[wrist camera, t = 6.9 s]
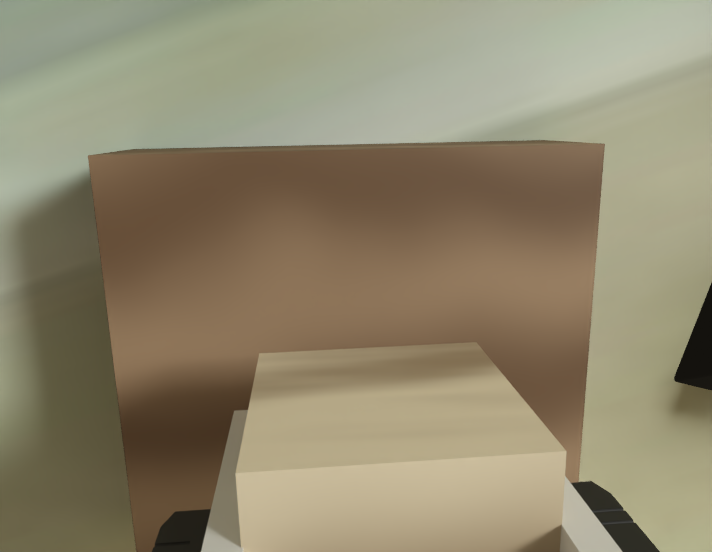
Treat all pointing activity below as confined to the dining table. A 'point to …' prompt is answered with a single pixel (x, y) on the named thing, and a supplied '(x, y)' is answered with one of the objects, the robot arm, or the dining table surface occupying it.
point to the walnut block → (334, 280)
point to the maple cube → (395, 455)
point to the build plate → (699, 350)
